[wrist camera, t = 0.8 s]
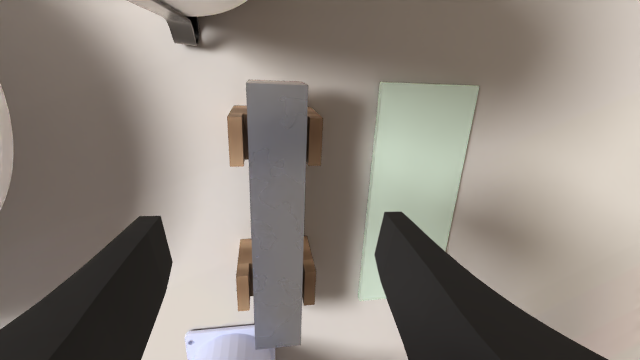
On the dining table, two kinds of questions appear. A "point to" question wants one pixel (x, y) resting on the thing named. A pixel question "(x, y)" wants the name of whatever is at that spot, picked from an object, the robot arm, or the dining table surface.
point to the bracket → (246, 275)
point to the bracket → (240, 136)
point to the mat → (415, 164)
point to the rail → (277, 207)
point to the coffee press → (186, 15)
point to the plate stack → (5, 148)
